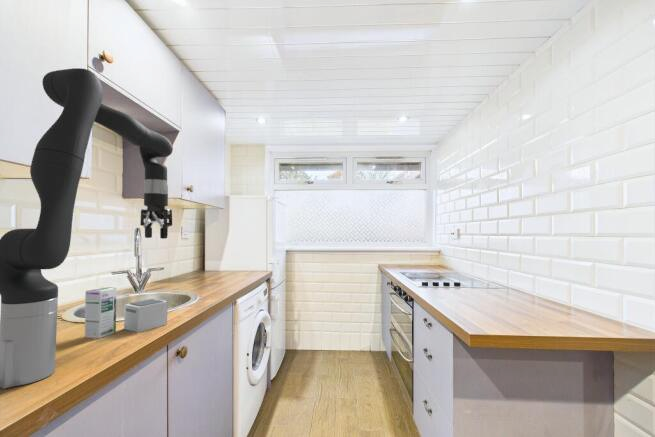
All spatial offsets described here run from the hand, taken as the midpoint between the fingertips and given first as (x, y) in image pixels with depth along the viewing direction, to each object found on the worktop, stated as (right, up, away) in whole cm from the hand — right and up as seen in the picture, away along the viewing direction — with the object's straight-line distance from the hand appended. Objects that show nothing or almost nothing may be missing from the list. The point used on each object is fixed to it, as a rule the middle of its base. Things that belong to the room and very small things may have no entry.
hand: (156, 238), depth 109 cm
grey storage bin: (0, -30, -5) cm, 30 cm away
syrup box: (-10, -30, -14) cm, 34 cm away
